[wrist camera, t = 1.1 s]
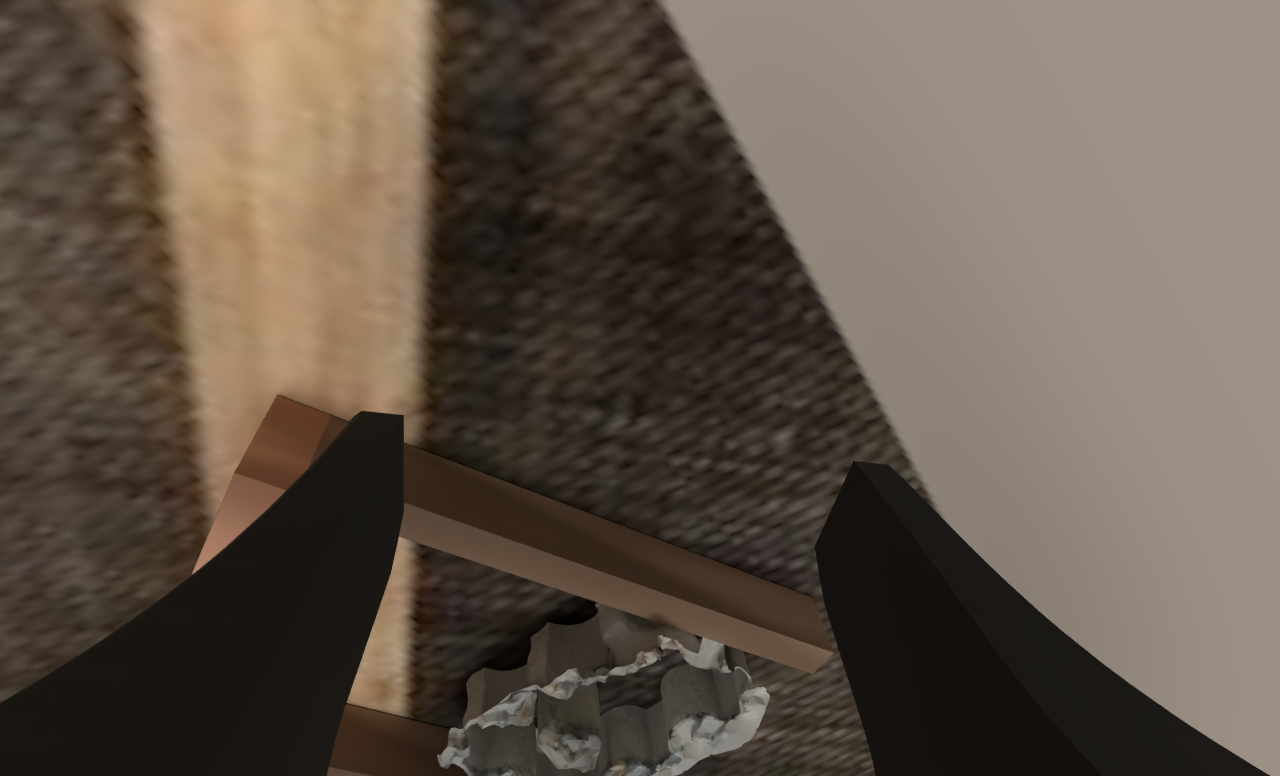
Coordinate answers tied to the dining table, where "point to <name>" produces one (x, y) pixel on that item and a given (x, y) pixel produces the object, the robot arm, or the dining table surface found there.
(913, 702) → the robot arm
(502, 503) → the channel
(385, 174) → the dining table surface
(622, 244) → the dining table surface
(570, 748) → the egg carton
